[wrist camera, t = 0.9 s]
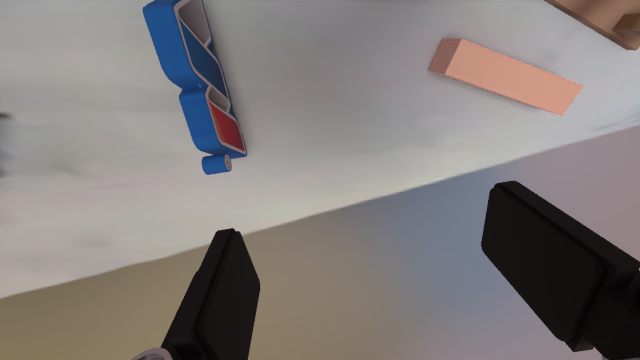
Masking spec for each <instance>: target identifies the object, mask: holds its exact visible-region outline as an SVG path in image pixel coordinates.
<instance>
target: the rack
mask: <svg viewBox="0 0 640 360" xmlns="http://www.w3.org/2000/svg"><path fill="white" fill-rule="evenodd" d="M545 1H547V2H548V3H550V4H552V5H553V6H555V7H557V8H558V9H560V10H562V11H563V12H565V13H567V14H568V15H570V16H572V17H573V18H575V19H577V20H578V21H580V22H582V23H583V24H585V25H587V26H588V27H590V28H592V29H593V30H595V31H597V32H598V33H600V34H602V35H603V36H605V37H607V38H608V39H610V40H612V41H613V42H615V43H617V44H618V45H620V46H622V47H623V48H625V49H627V50H637V49H638V48H639V46H640V0H545Z"/></svg>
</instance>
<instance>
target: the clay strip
mask: <svg viewBox="0 0 640 360" xmlns="http://www.w3.org/2000/svg"><path fill="white" fill-rule="evenodd" d="M428 70H429V71H432V72H435V73H438V74H440V75H443V76H446V77H449V78H452V79H455V80H457V81H460V82H463V83H466V84H469V85H472V86H474V87H477V88H480V89H483V90H486V91H489V92H492V93H494V94H497V95H500V96H503V97H506V98H509V99H511V100H514V101H517V102H520V103H523V104H526V105H528V106H531V107H534V108H538V109H541V110H544V111H548V112H551V113H554V114H558V115H561V116H562V115H563V114H564V112H565V111H566V110H567V108H568V107H569V105H570V104H571V103H572V101H573V100H574V99H575V97H576V96H577V94H578V93H579V92H580V90H581V89H582V88H583V85H580V84H577V83H575V82H572V81H570V80H567V79H564V78H562V77H559V76H557V75H554V74H552V73H549V72H546V71H544V70H541V69H539V68H536V67H534V66H531V65H528V64H526V63H523V62H521V61H518V60H515V59H513V58H510V57H508V56H505V55H503V54H500V53H497V52H495V51H492V50H490V49H487V48H485V47H482V46H479V45H477V44H474V43H472V42H469V41H466V40H464V39H442V41H441V43H440V45H439V47H438V49H437V51H436V54H435V56H434V58H433V60H432V62H431V65H430V67H429V69H428Z"/></svg>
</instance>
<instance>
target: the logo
mask: <svg viewBox="0 0 640 360" xmlns="http://www.w3.org/2000/svg"><path fill="white" fill-rule="evenodd" d="M143 14H144V17H145V20H146V23H147V26H148V29H149V32H150V35H151V38H152V41H153V44H154V46H155V49H156V52H157V55H158V58H159V61H160V64H161V67H162V69H163V71H164V73H165V75H166V76H167V77H168V79H169V80H170V81H172V82H173V83H174V84H176V85H177V86H179V87H180V88H182V91H181V94H180V95H179V100H180V103H181V106H182V109H183V112H184V115H185V118H186V121H187V124H188V127H189V130H190V133H191V137H192V139H193V142H194V144H195V146H196V147H197V148H198V149H199V150H200V151H203V152H206V153H209V154H213V155H212V156H206V157H203V158H202V168H203V171H204V172H205V174H207V175H209V174H216V173H223V172H229V171H231V167H232V165H231V160H230V159H233V158H239V157H246V156H247V152H246V148H245V144H244V140H243V136H242V133H241V130H240V126H239V123H238V121H237V119H236V117H235V116H234V115H232V114H231V113H230V110H231V101H230V98H229V94H228V90H227V86H226V82H225V79H224V75H223V71H222V67H221V65H220V62H219V60H218V59H217V57H216V56H215V55H214V53H213V52H212V51H211V50H210V49H209V47H210V45H211V44H212V42H213V41H212V36H211V32H210V28H209V25H208V21H207V17H206V13H205V9H204V6H203V2H202V0H155V1H153V2H151V3H149V4H147V5H146V6H145V7H143Z"/></svg>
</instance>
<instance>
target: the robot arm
mask: <svg viewBox="0 0 640 360" xmlns="http://www.w3.org/2000/svg"><path fill="white" fill-rule="evenodd" d="M481 246H482V250H483V252H484V253H485V255H486V256H487V257H488V258H489V260H490V261H491V262H492V263H493V264H494V265H495V267H496V268H497V269H498V270H499V271H500V272H501V273H502V275H503V276H504V277H505V278H506V279H507V281H508V282H509V283H510V284H511V285H512V286H513V287H514V289H515V290H516V291H517V292H518V293H519V295H520V296H521V297H522V298H523V299H524V300H525V302H526V303H527V304H528V305H529V306H530V308H531V309H532V310H533V311H534V312H535V313H536V315H537V316H538V317H539V318H540V319H541V320H542V322H543V323H544V324H545V325H546V326H547V328H548V329H549V330H550V331H551V332H552V333H553V334H554V336H555V337H556V338H558V339H559V340H561V341H564V342H565V343H566V344H567V345H568V346H569V348H571V350H572V351H573V352H578V351H584V350H592V349H593V347H595V348H596V349H597V350H598V351H599V352H600V353H601V354H602V360H640V271H639V268H640V262H639V261H638V260H636V259H635V258H633V257H631V256H630V255H629V254H627V253H625V252H624V251H622V250H621V249H619V248H618V247H616V246H615V245H613V244H612V243H610V242H609V241H607V240H606V239H604V238H603V237H601V236H600V235H598V234H596V233H595V232H593V231H592V230H590V229H589V228H587V227H586V226H584V225H583V224H581V223H580V222H578V221H577V220H575V219H574V218H572V217H571V216H569V215H567V214H566V213H564V212H563V211H561V210H560V209H558V208H557V207H555V206H554V205H552V204H551V203H549V202H548V201H546V200H545V199H543V198H541V197H540V196H538V195H537V194H535V193H534V192H532V191H531V190H529V189H528V188H526V187H525V186H523V185H522V184H520V183H519V182H517V181H508V182H502V183H497V184H495V186H494V188H493V189H491V190H490V194H489V200H488V206H487V212H486V218H485V224H484V230H483V236H482V242H481ZM259 293H260V281H259V278H258V276H257V273H256V271H255V268H254V266H253V264H252V261H251V258H250V256H249V253H248V251H247V248H246V246H245V243H244V241H243V238H242V235H241V233H240V232H239V231H235V230H234V229H233V228H231V229H225V230H219V231H217V232H216V233H215V236H214V238H213V240H212V242H211V244H210V246H209V249H208V251H207V253H206V255H205V258H204V260H203V262H202V264H201V266H200V268H199V270H198V271H197V272H196V274H195V275H194V277H193V279H192V281H191V283H190V285H189V288H188V290H187V292H186V294H185V296H184V298H183V300H182V303H181V305H180V307H179V309H178V311H177V313H176V315H175V317H174V320H173V322H172V324H171V326H170V328H169V330H168V333H167V335H166V337H165V339H164V341H163V343H162V345H161V347H160V348H152V349H149V350H146V351H144V352H142V353H140V354H139V355H137V356H135V357H134V358H133V359H132V360H248V355H249V349H250V343H251V338H252V332H253V326H254V321H255V315H256V310H257V304H258V298H259Z"/></svg>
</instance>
